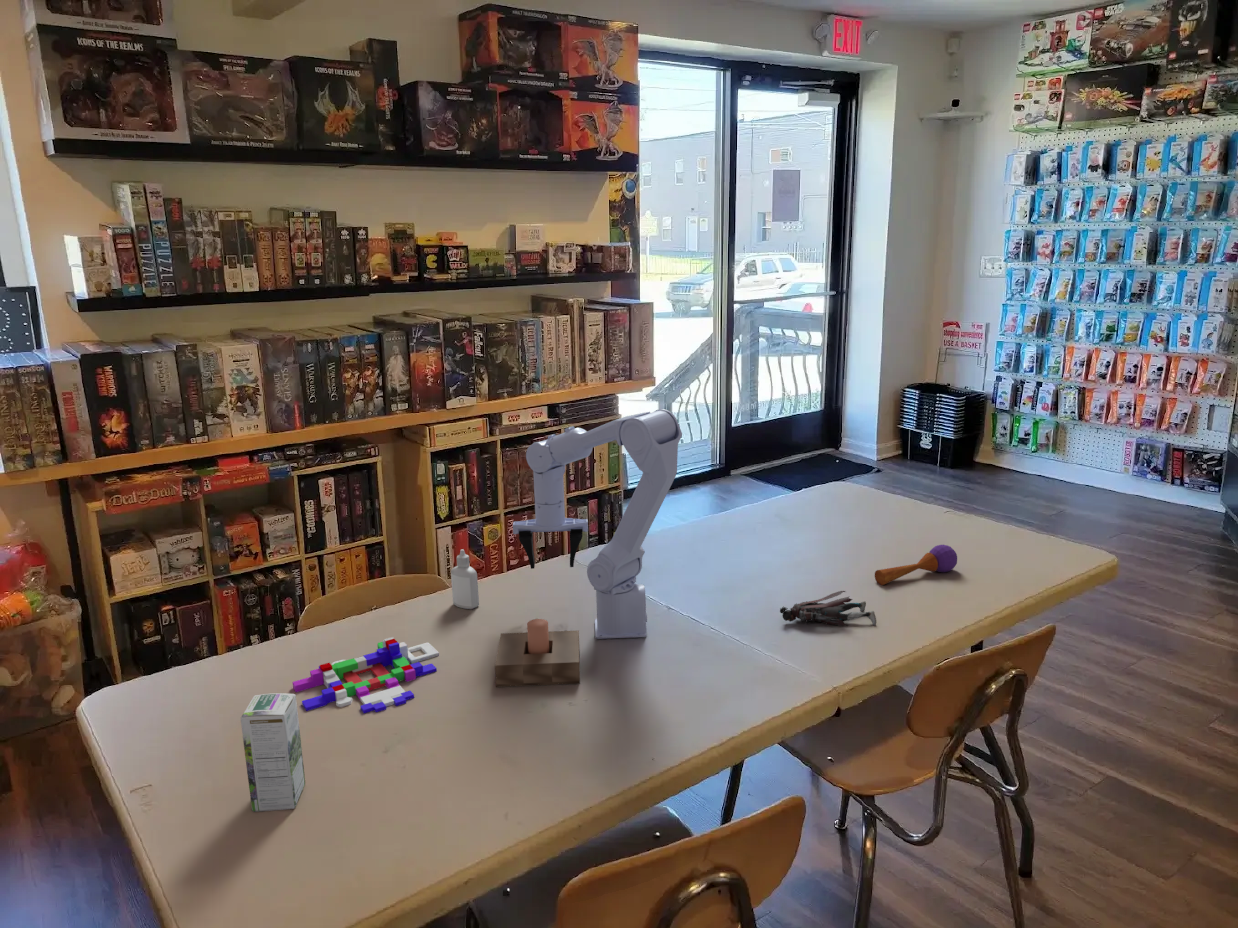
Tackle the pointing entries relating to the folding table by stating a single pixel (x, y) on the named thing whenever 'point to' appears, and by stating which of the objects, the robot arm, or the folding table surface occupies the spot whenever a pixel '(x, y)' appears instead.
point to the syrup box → (273, 752)
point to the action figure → (827, 611)
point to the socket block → (538, 660)
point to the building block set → (376, 662)
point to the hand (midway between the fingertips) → (552, 566)
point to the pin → (538, 636)
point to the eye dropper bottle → (464, 583)
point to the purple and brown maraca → (921, 564)
